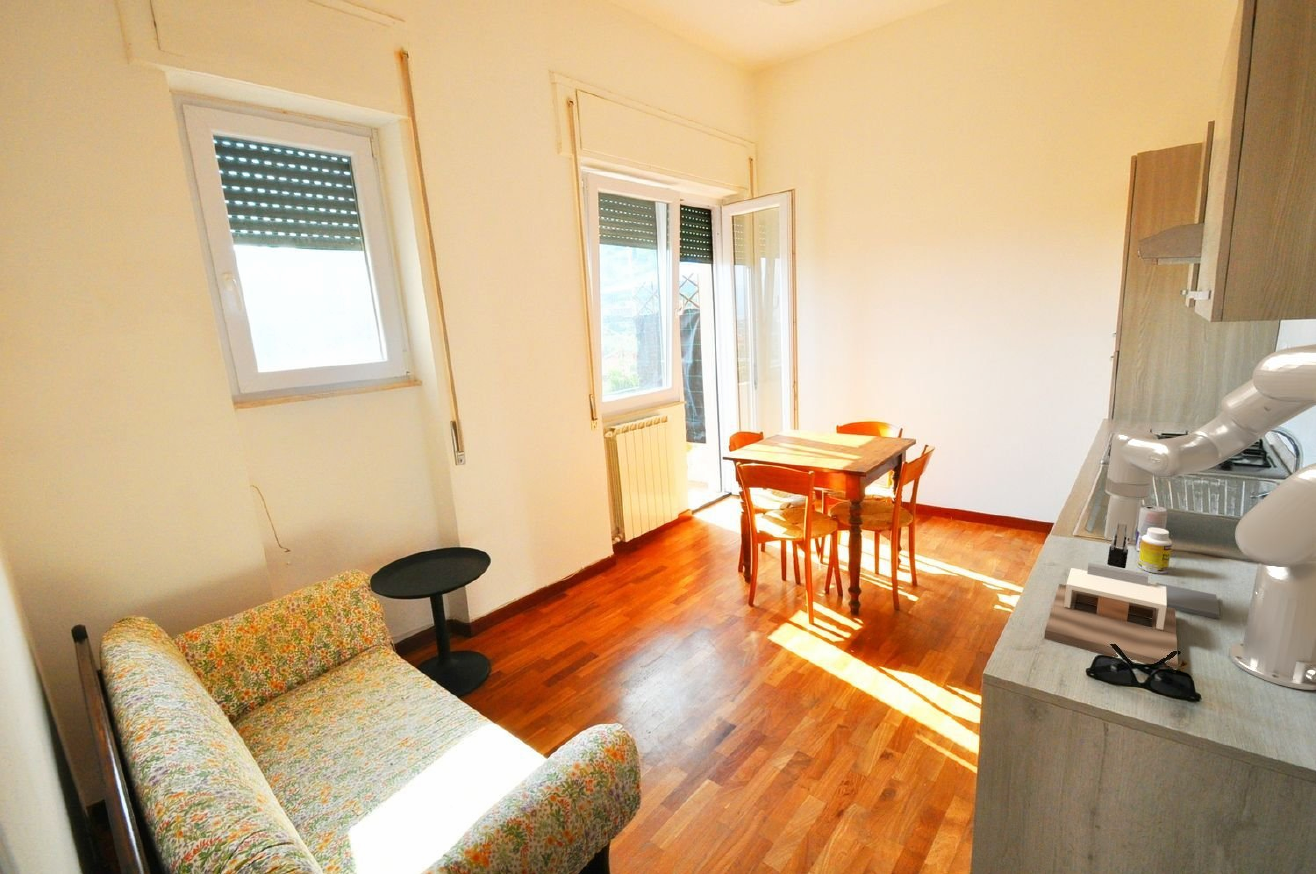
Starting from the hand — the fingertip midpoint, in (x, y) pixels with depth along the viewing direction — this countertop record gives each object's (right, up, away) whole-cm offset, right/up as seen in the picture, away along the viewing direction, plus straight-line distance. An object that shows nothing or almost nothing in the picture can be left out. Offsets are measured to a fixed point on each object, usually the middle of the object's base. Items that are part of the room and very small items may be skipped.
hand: (1116, 565), depth 128 cm
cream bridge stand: (-6, -8, -6) cm, 12 cm away
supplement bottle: (+19, -4, +13) cm, 23 cm away
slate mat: (+14, -8, -2) cm, 16 cm away
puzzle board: (-9, -11, -9) cm, 17 cm away
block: (-6, -10, -6) cm, 13 cm away
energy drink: (+26, -1, +22) cm, 34 cm away
